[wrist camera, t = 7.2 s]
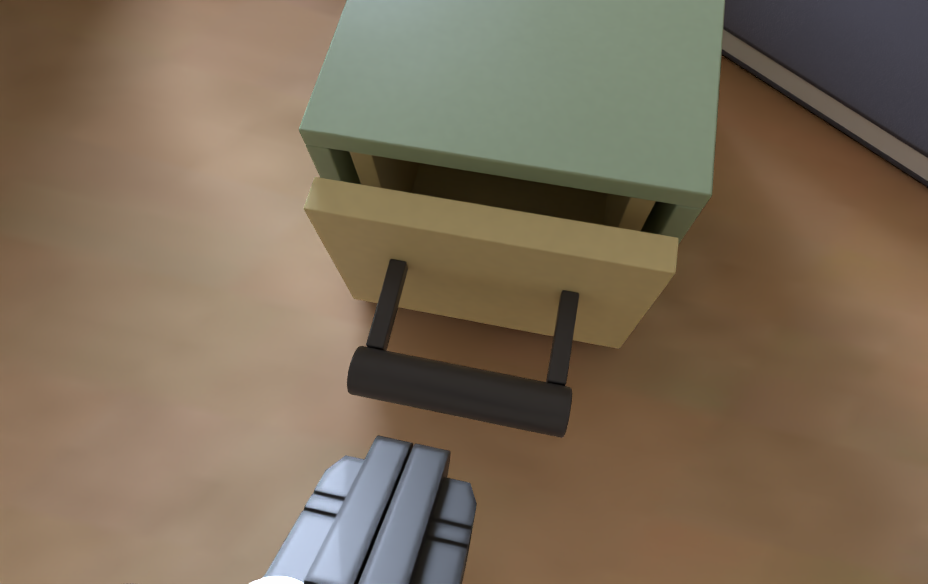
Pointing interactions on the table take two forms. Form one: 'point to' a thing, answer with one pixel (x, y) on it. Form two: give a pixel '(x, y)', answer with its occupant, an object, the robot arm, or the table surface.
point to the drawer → (486, 277)
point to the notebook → (844, 66)
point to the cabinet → (530, 94)
